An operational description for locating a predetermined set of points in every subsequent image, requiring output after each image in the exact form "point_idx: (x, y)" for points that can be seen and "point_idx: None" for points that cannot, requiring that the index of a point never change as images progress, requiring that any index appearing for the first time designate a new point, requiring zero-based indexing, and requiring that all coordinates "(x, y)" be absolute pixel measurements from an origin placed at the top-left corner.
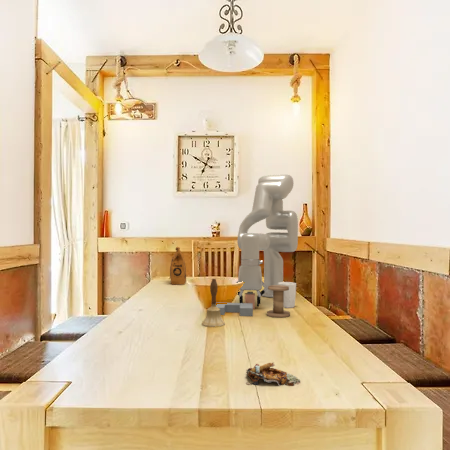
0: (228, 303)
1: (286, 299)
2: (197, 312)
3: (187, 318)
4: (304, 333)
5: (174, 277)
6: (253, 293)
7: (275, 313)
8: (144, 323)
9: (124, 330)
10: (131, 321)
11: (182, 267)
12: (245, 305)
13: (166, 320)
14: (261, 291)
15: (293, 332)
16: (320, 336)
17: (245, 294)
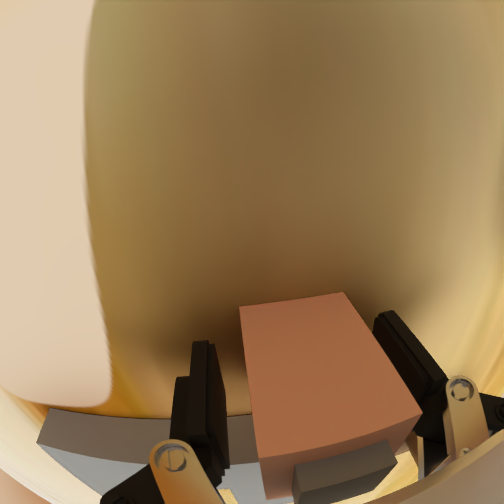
0: (134, 472)
1: None
2: (33, 434)
3: (72, 478)
4: (394, 486)
5: None
6: (397, 435)
7: (405, 444)
8: (34, 479)
9: (50, 495)
10: (5, 463)
11: None
12: None
13: (46, 477)
14: (487, 425)
15: (376, 492)
16: (411, 481)
17: (269, 496)
